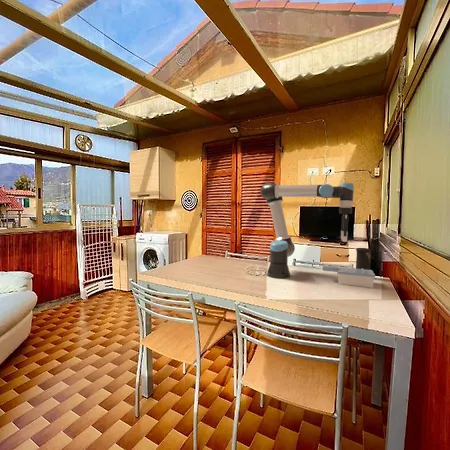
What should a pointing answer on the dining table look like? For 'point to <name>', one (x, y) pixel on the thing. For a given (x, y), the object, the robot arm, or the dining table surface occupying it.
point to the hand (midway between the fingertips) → (343, 240)
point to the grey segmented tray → (349, 271)
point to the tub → (355, 280)
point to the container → (363, 258)
